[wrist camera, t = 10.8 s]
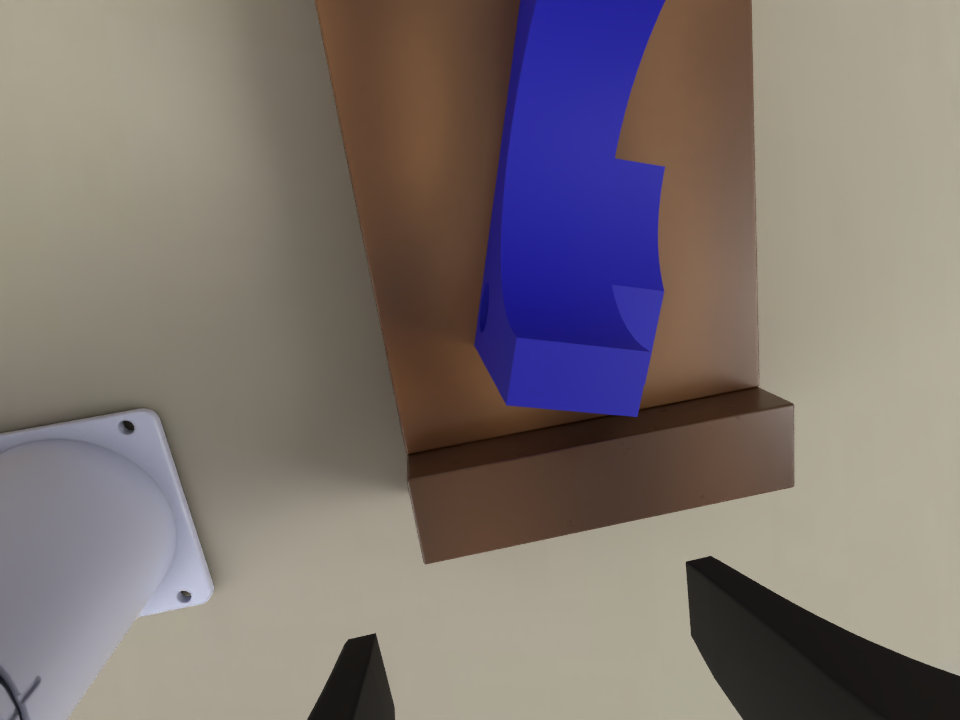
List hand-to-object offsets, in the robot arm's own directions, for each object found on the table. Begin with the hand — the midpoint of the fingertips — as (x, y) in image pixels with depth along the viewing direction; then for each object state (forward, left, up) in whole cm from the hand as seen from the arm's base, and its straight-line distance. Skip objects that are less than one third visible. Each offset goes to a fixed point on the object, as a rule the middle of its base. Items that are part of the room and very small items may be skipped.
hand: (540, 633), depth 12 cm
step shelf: (+4, +10, -10) cm, 15 cm away
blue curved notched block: (+4, +10, -7) cm, 13 cm away
